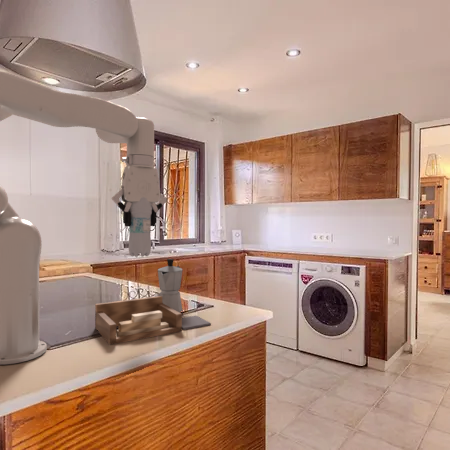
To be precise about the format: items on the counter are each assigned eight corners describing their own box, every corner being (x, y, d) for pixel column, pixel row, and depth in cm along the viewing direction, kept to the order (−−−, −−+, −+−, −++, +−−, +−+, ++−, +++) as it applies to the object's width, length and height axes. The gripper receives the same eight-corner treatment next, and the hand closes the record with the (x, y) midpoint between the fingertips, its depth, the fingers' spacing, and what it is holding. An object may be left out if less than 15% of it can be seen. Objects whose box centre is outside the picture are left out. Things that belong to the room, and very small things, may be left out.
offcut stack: (119, 340, 92) (119, 318, 92) (116, 337, 94) (116, 316, 94) (168, 331, 100) (169, 311, 100) (165, 328, 102) (165, 309, 102)
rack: (109, 344, 89) (109, 317, 89) (95, 328, 102) (95, 303, 101) (181, 331, 100) (181, 306, 100) (160, 317, 113) (160, 295, 112)
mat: (183, 329, 101) (183, 327, 101) (170, 321, 109) (170, 319, 109) (210, 324, 106) (210, 322, 106) (196, 317, 114) (196, 315, 114)
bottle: (145, 257, 97) (146, 185, 97) (123, 256, 99) (123, 185, 98) (155, 255, 104) (155, 186, 103) (134, 254, 105) (134, 186, 105)
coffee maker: (175, 318, 112) (175, 262, 111) (149, 316, 114) (149, 260, 113) (190, 306, 126) (191, 256, 126) (167, 304, 128) (167, 255, 128)
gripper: (113, 158, 93) (113, 227, 93) (174, 164, 102) (173, 226, 103) (105, 161, 99) (105, 225, 99) (163, 167, 108) (163, 225, 109)
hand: (140, 225), depth 101 cm, fingers closed on bottle, 6 cm apart
